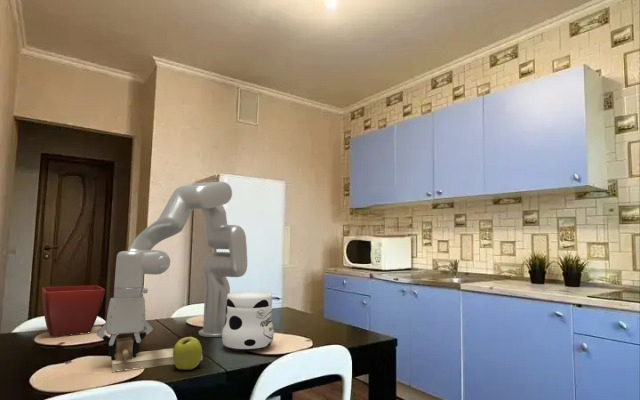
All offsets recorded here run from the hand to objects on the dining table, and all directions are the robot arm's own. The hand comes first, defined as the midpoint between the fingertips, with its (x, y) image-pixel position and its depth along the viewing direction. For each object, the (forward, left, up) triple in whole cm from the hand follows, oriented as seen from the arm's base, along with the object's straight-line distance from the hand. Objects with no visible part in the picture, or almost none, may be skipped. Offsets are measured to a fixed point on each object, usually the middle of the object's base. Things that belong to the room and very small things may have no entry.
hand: (123, 356), depth 112 cm
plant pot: (+15, -53, -3) cm, 55 cm away
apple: (-15, +11, -3) cm, 19 cm away
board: (-9, +1, -2) cm, 9 cm away
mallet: (0, +2, 0) cm, 2 cm away
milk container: (-38, -1, -3) cm, 38 cm away
